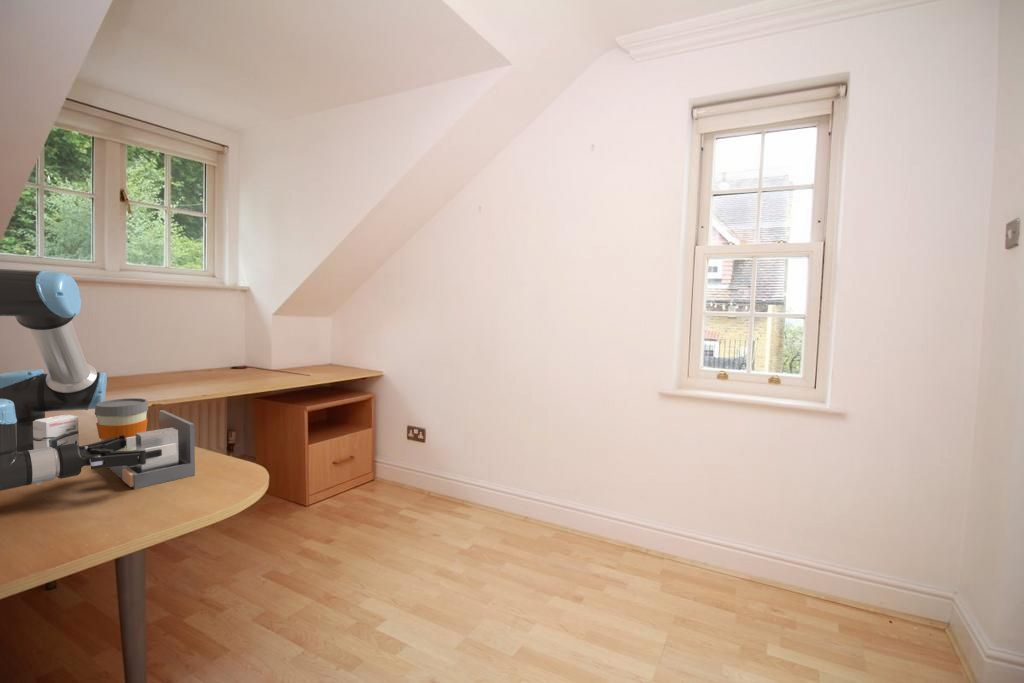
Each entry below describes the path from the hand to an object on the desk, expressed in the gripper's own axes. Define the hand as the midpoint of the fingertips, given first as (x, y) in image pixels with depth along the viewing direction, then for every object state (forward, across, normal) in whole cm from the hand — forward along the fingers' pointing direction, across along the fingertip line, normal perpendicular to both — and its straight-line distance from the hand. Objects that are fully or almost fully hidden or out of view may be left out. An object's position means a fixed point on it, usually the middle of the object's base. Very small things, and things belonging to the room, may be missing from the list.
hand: (165, 443), depth 125 cm
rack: (-2, -7, -9) cm, 12 cm away
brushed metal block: (-2, 0, -9) cm, 9 cm away
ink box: (-15, -37, -9) cm, 41 cm away
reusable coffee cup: (-1, -32, -9) cm, 34 cm away
